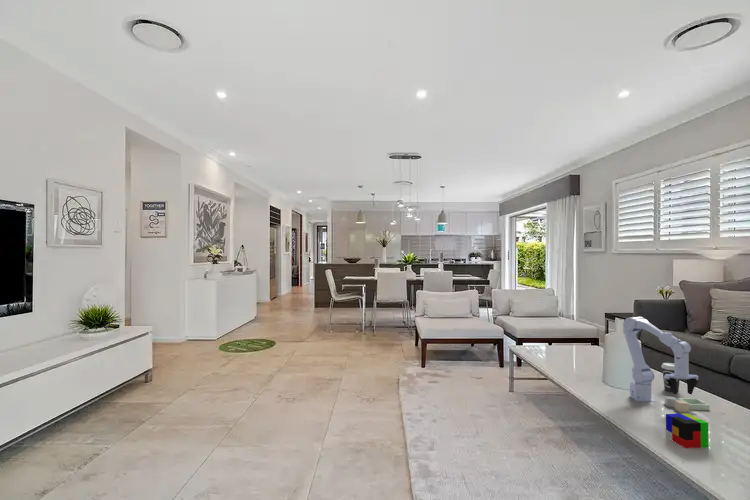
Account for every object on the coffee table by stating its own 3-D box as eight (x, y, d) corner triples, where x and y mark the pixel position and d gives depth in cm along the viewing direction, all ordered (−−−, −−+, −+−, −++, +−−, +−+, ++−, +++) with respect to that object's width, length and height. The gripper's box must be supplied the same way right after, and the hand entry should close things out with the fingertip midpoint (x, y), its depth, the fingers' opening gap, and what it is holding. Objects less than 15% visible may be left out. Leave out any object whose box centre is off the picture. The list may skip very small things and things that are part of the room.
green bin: (690, 410, 207) (690, 404, 207) (678, 403, 216) (678, 398, 216) (709, 410, 206) (709, 405, 206) (696, 404, 215) (696, 398, 215)
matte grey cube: (667, 406, 211) (667, 398, 211) (664, 403, 215) (664, 396, 215) (677, 407, 209) (677, 399, 209) (674, 404, 213) (674, 397, 213)
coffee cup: (685, 394, 231) (685, 367, 231) (666, 392, 233) (666, 366, 233) (676, 388, 240) (676, 362, 241) (658, 387, 242) (658, 362, 242)
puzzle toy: (666, 437, 176) (665, 414, 176) (687, 436, 177) (687, 413, 177) (685, 448, 166) (685, 423, 166) (708, 447, 167) (708, 422, 167)
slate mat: (679, 415, 200) (679, 414, 200) (662, 404, 214) (662, 404, 214) (697, 415, 200) (697, 415, 200) (678, 405, 214) (678, 404, 214)
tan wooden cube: (680, 412, 203) (680, 403, 203) (674, 409, 207) (674, 400, 207) (689, 412, 203) (689, 403, 203) (683, 409, 207) (683, 400, 207)
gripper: (671, 368, 202) (671, 395, 202) (702, 368, 201) (702, 396, 200) (662, 364, 209) (662, 391, 209) (692, 364, 208) (693, 391, 207)
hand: (681, 393), depth 205 cm, fingers open, 7 cm apart
